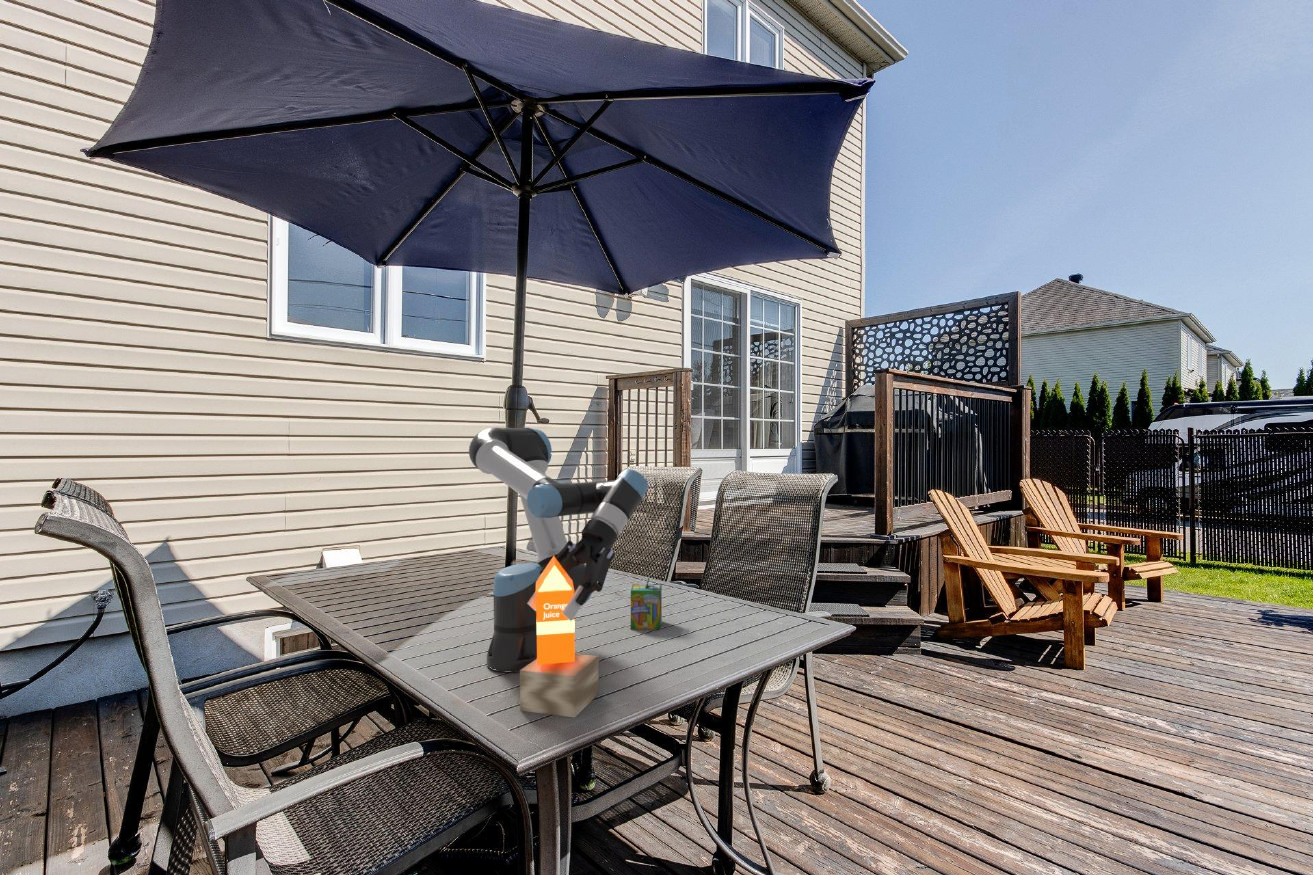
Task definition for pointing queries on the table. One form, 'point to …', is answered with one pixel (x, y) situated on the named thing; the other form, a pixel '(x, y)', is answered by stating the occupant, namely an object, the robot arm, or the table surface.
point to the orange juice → (554, 616)
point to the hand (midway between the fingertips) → (548, 612)
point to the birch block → (559, 686)
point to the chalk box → (646, 606)
